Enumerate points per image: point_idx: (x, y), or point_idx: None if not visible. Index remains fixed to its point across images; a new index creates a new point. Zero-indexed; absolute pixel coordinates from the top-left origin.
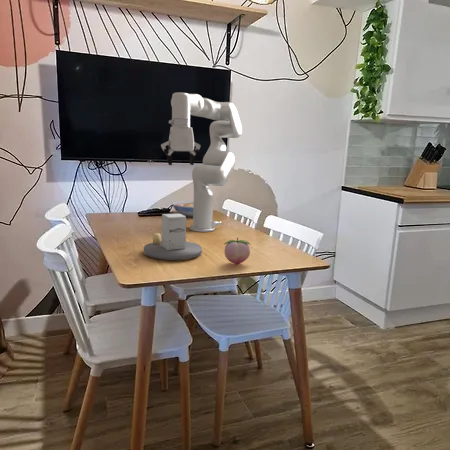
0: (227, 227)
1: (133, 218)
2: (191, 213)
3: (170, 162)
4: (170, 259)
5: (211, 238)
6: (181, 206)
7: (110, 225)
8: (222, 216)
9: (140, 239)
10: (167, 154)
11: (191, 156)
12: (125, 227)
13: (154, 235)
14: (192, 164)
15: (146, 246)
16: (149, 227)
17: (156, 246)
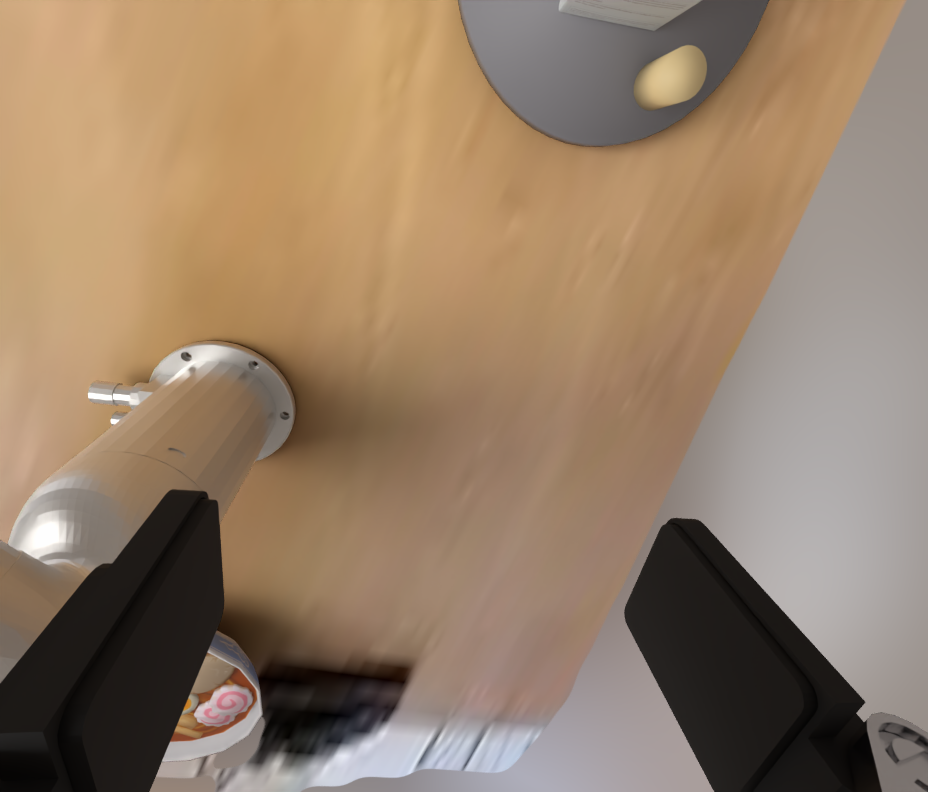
0: (60, 398)
1: (447, 647)
2: None
3: (727, 550)
4: None
5: (252, 198)
6: (234, 662)
7: (576, 571)
8: None
9: (591, 329)
10: (924, 765)
11: (107, 738)
12: (543, 531)
13: (704, 61)
14: (203, 493)
15: (723, 62)
16: (456, 507)
17: (683, 32)
